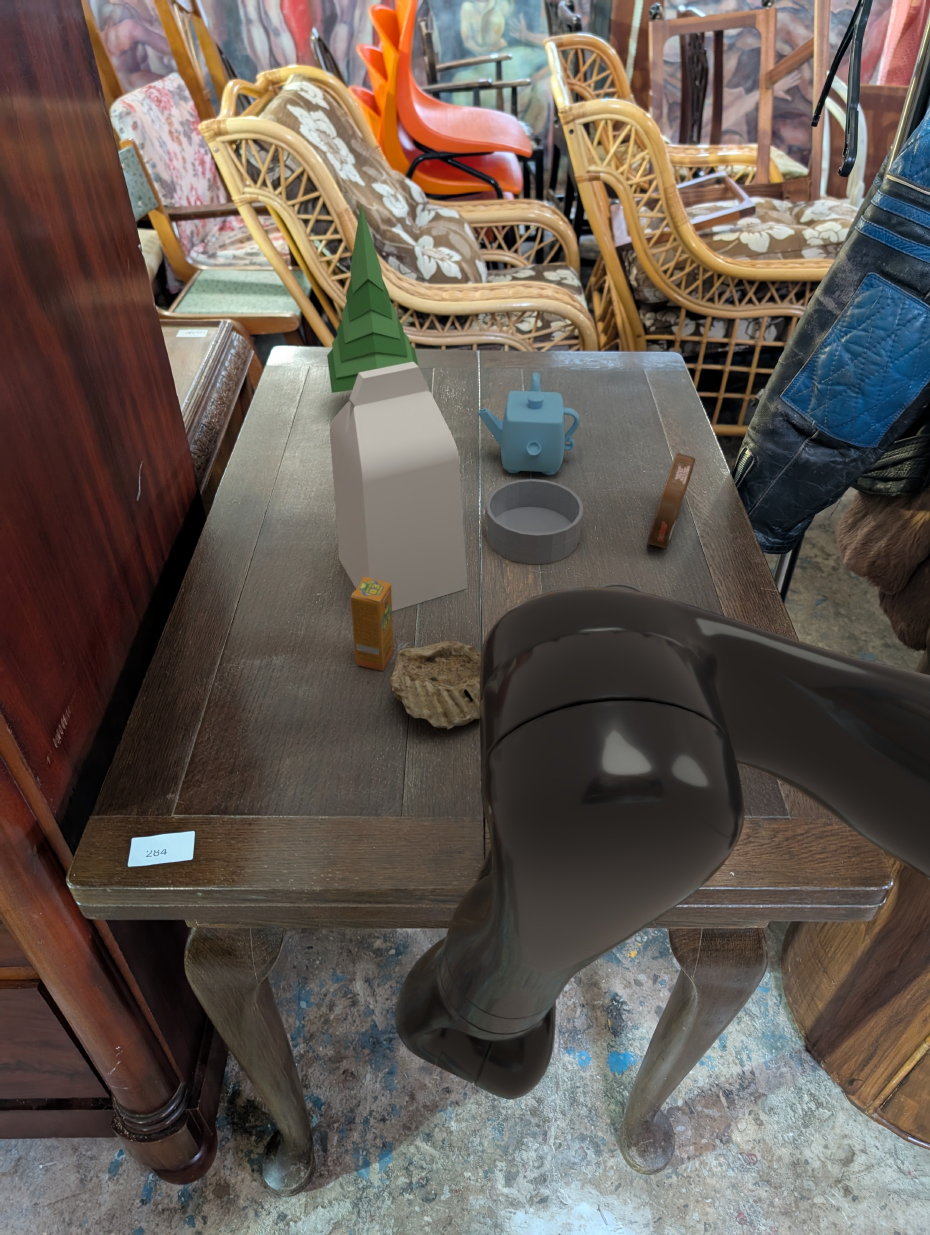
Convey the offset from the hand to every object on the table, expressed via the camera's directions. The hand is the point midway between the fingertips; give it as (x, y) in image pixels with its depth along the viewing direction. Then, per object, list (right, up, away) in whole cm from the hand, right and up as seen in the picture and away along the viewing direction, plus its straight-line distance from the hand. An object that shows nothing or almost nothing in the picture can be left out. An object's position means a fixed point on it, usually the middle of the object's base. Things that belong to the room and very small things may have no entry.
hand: (604, 670), depth 75 cm
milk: (-21, +10, +21) cm, 31 cm away
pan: (-5, +16, +26) cm, 31 cm away
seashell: (-15, -4, +5) cm, 17 cm away
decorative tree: (-27, +38, +50) cm, 68 cm away
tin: (+13, +17, +28) cm, 35 cm away
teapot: (-4, +28, +39) cm, 48 cm away
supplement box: (-23, 0, +10) cm, 25 cm away
